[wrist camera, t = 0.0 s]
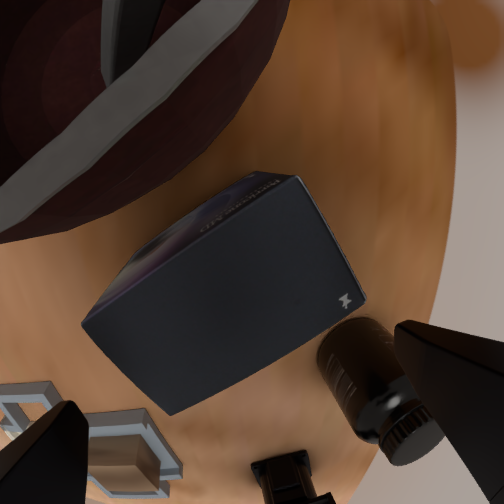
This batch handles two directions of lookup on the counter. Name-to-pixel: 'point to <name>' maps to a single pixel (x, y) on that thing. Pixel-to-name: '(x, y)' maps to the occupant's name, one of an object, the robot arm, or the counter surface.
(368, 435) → the supplement bottle
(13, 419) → the trap tray
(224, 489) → the counter surface
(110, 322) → the small box
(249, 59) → the mate gourd
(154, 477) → the walnut block
